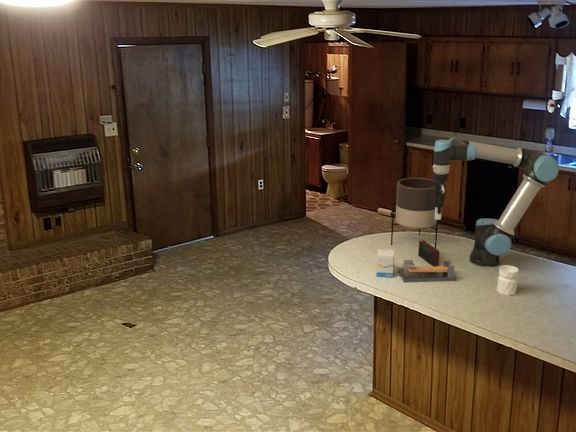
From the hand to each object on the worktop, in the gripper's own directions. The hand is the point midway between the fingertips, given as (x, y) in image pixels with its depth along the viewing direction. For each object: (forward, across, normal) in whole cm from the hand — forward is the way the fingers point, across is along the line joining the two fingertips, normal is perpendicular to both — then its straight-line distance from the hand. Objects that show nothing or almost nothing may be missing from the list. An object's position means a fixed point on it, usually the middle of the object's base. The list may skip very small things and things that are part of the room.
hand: (437, 219), depth 315 cm
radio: (+29, -14, +1) cm, 32 cm away
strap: (+24, +7, -5) cm, 26 cm away
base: (+28, +4, -5) cm, 29 cm away
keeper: (+26, +6, -14) cm, 31 cm away
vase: (+29, +26, +27) cm, 47 cm away
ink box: (+29, 0, -25) cm, 38 cm away
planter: (+29, -41, +2) cm, 50 cm away
